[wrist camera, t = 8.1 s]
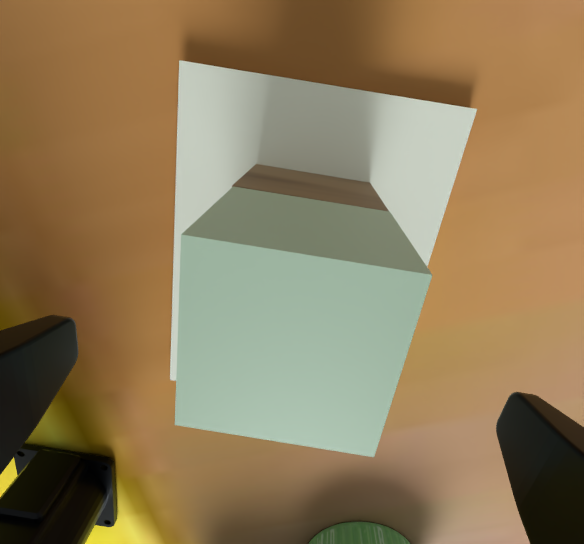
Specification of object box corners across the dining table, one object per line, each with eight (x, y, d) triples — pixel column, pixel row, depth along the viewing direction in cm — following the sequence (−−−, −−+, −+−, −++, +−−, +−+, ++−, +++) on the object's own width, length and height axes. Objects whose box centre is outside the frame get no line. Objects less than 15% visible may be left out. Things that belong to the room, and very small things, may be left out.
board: (378, 404, 22) (380, 414, 22) (175, 370, 22) (170, 379, 22) (469, 108, 16) (477, 109, 15) (185, 62, 16) (179, 60, 15)
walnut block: (346, 285, 19) (354, 343, 14) (244, 268, 19) (220, 321, 14) (369, 182, 17) (388, 211, 12) (256, 163, 17) (232, 185, 12)
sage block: (356, 343, 14) (373, 457, 10) (221, 321, 14) (175, 424, 10) (389, 211, 12) (432, 274, 8) (233, 186, 12) (181, 234, 8)
